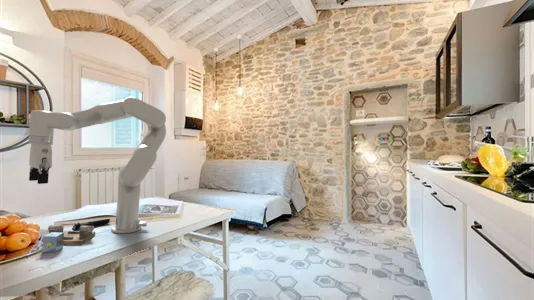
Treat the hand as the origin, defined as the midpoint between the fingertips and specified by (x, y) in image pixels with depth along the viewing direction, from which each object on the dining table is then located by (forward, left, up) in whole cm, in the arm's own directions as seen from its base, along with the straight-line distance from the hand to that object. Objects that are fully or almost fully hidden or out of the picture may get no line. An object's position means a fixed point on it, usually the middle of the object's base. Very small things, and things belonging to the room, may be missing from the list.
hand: (38, 181), depth 105 cm
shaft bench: (-14, +1, -23) cm, 27 cm away
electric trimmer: (-14, -16, -24) cm, 32 cm away
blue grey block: (-14, +12, -23) cm, 30 cm away
